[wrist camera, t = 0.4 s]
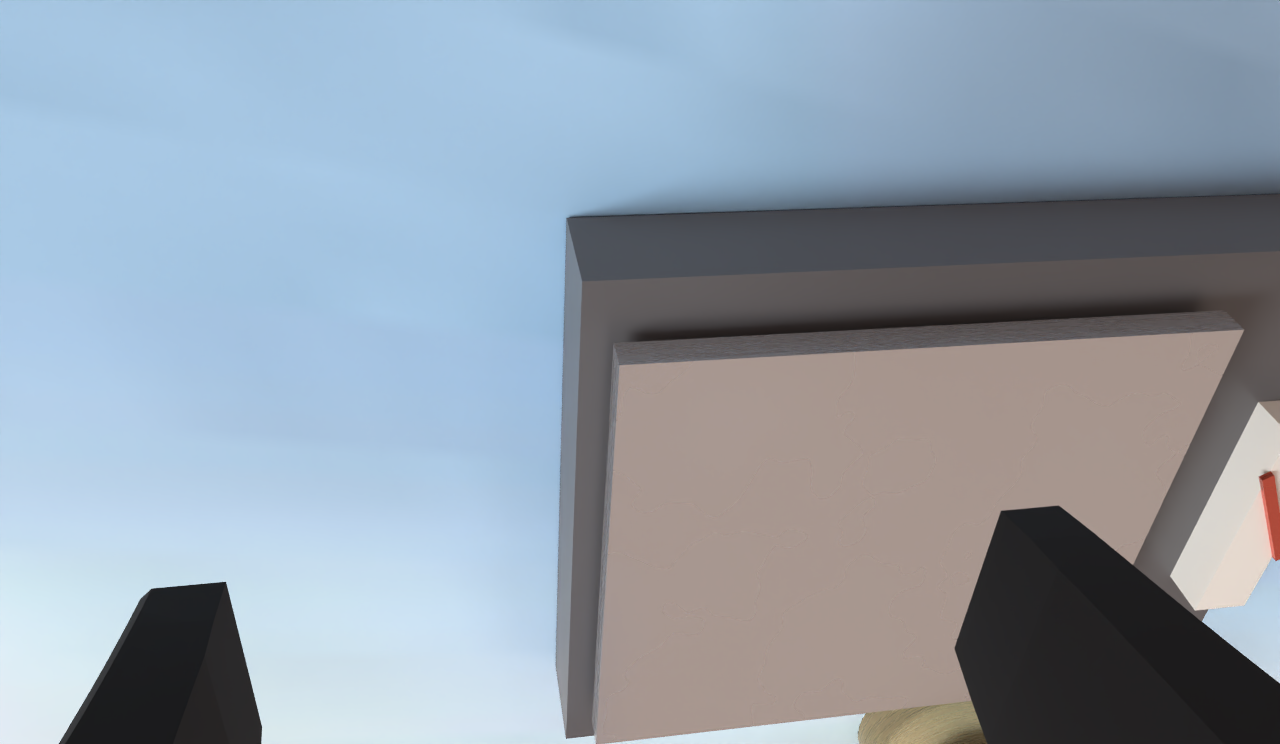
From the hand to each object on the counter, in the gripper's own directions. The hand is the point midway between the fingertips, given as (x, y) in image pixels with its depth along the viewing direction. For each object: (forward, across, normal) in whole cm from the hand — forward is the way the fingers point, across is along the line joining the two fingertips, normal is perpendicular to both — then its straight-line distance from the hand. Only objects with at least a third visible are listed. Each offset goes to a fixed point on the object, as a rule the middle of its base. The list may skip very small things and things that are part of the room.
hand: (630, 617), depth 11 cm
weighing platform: (+8, -7, +7) cm, 12 cm away
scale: (+10, -8, +7) cm, 15 cm away
